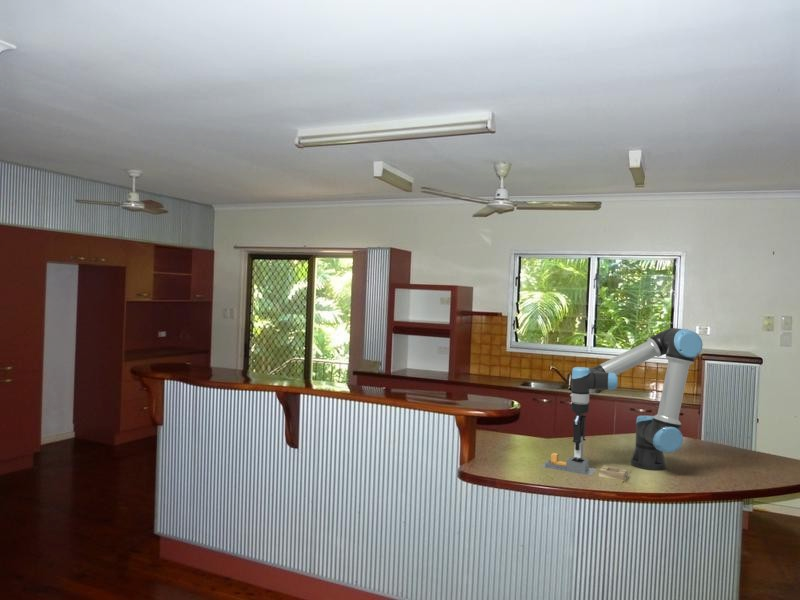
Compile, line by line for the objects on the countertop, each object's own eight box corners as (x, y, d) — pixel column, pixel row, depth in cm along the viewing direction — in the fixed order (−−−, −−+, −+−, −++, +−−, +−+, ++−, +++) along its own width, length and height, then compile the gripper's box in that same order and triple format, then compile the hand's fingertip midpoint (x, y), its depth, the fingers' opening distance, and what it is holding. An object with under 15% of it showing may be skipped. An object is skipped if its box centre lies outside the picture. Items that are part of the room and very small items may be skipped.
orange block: (552, 464, 276) (553, 453, 276) (571, 467, 272) (571, 455, 272) (550, 465, 274) (551, 454, 274) (569, 468, 270) (569, 457, 270)
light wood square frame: (603, 473, 269) (603, 465, 269) (627, 477, 264) (627, 469, 264) (598, 478, 260) (598, 470, 260) (623, 483, 255) (623, 474, 255)
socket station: (547, 463, 282) (547, 452, 282) (596, 471, 271) (597, 459, 271) (539, 469, 271) (540, 457, 271) (590, 478, 261) (591, 466, 261)
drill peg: (575, 466, 272) (576, 435, 271) (582, 468, 270) (583, 436, 270) (573, 468, 269) (574, 436, 269) (581, 469, 267) (582, 437, 267)
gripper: (575, 399, 278) (574, 451, 278) (566, 404, 264) (565, 459, 264) (592, 401, 274) (591, 453, 275) (584, 406, 260) (583, 461, 260)
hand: (578, 456), depth 269 cm, fingers closed on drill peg, 3 cm apart
